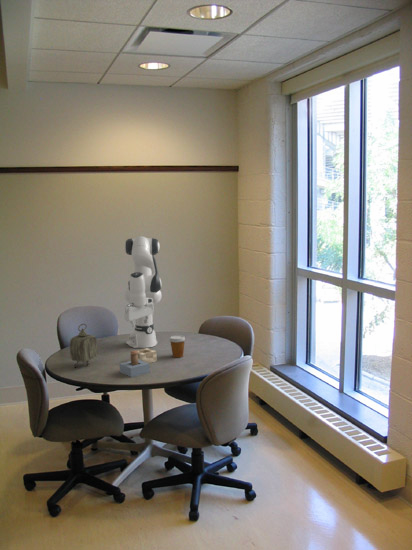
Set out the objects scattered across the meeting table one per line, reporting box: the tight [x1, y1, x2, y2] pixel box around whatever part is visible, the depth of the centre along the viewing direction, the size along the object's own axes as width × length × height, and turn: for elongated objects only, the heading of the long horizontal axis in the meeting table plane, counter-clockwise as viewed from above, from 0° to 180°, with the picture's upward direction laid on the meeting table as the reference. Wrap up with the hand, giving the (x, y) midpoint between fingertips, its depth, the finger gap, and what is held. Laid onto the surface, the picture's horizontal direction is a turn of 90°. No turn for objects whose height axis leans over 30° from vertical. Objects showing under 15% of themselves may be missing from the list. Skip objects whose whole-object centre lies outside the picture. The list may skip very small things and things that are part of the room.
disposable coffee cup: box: [169, 334, 186, 359], centre depth 343 cm, size 10×10×12 cm
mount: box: [136, 347, 158, 364], centre depth 336 cm, size 10×10×6 cm
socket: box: [119, 360, 151, 378], centre depth 315 cm, size 12×12×5 cm
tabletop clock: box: [69, 323, 98, 368], centre depth 329 cm, size 14×9×25 cm, turn 152°
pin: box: [130, 350, 138, 366], centre depth 315 cm, size 4×4×12 cm
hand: (140, 325), depth 320 cm, fingers open, 8 cm apart
